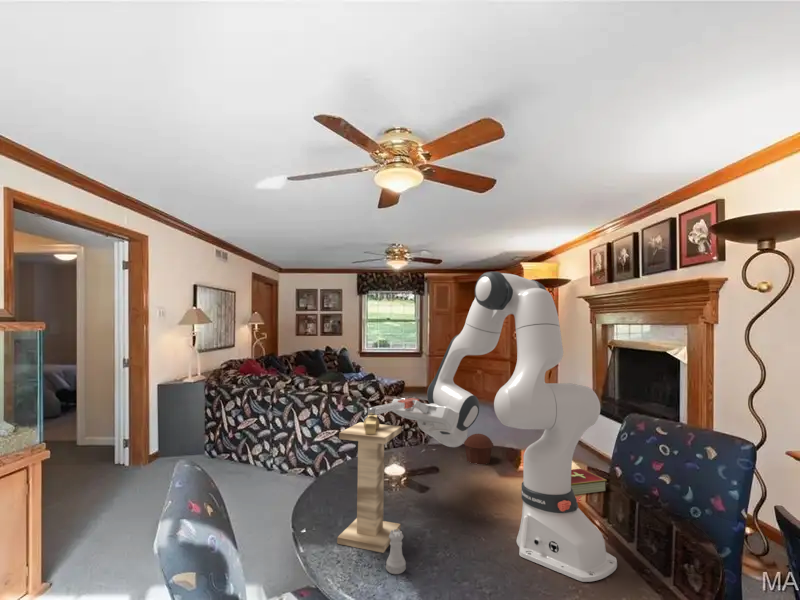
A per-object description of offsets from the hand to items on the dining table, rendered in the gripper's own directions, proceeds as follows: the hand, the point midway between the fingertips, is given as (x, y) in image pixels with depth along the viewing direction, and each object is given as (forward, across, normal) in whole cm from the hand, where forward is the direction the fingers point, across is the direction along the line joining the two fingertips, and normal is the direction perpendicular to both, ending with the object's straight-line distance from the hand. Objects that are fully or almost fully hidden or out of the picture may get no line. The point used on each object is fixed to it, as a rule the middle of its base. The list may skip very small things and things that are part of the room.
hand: (407, 401), depth 123 cm
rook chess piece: (+3, +14, +38) cm, 41 cm away
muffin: (-64, -9, -1) cm, 65 cm away
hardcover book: (-60, +27, +2) cm, 66 cm away
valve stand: (-3, 0, +35) cm, 35 cm away
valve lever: (+5, 0, +4) cm, 6 cm away
